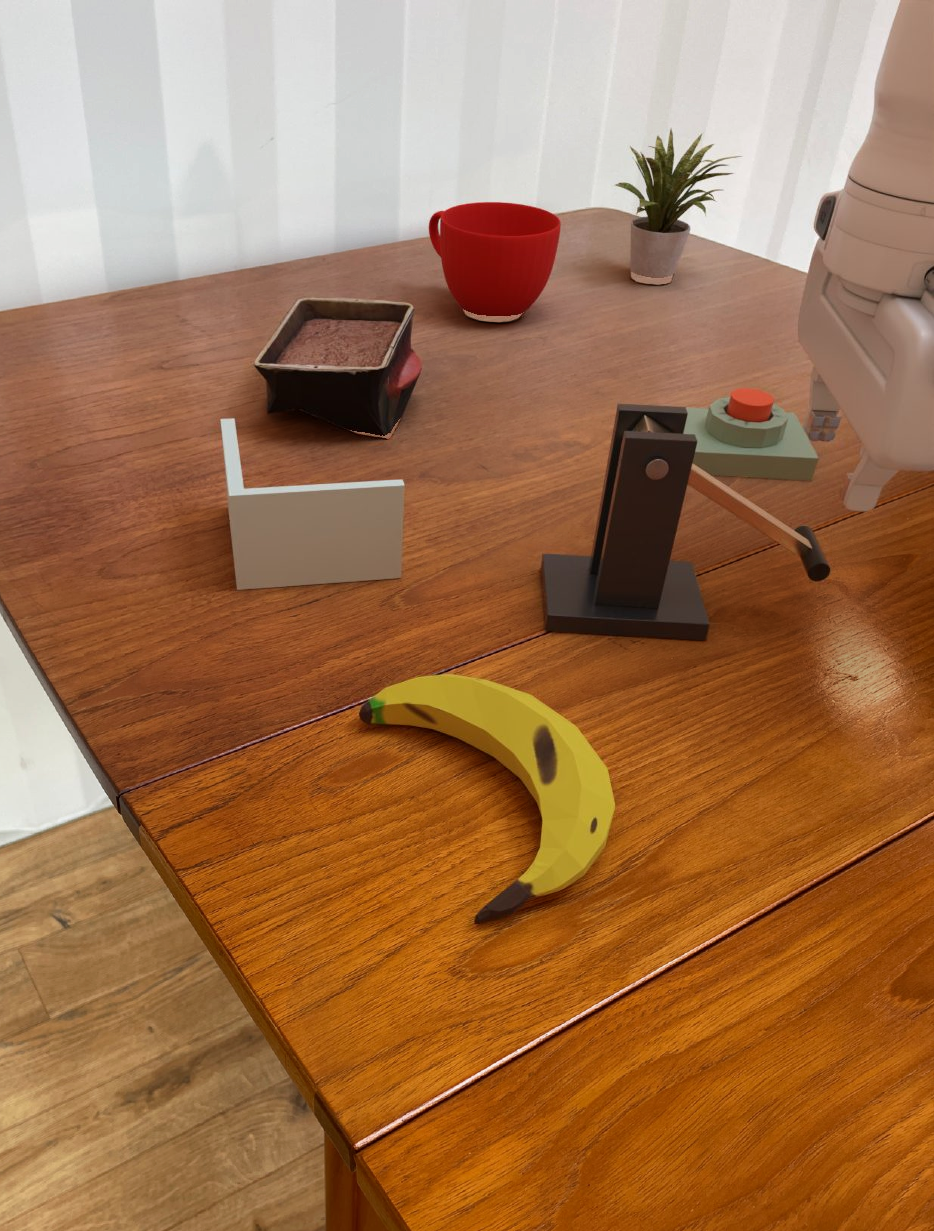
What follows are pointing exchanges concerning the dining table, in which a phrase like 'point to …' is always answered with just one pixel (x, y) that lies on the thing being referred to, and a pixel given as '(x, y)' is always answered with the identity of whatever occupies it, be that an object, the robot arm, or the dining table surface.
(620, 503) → the hinged bracket stand
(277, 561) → the right angle wall
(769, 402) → the power button
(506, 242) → the ceramic cup
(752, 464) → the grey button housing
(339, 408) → the baking dish
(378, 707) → the banana
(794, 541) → the lever switch
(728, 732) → the dining table surface
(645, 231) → the house plant
